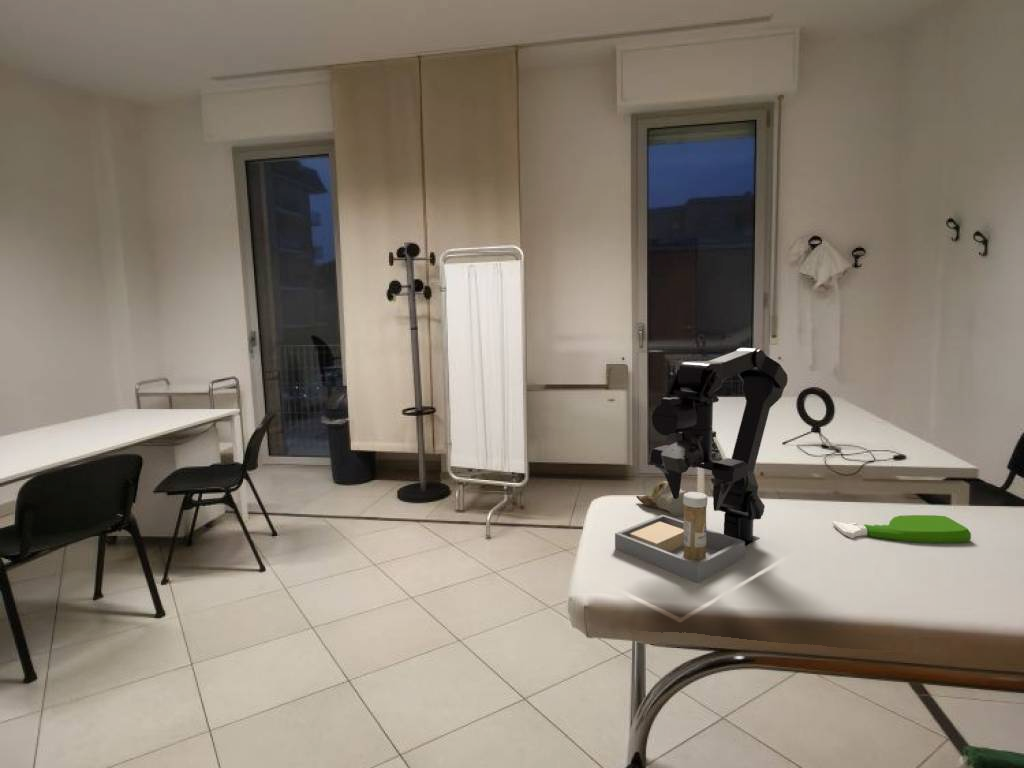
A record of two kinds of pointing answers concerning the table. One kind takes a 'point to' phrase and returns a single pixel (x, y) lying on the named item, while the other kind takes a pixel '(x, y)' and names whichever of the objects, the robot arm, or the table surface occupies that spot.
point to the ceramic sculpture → (664, 499)
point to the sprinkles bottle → (694, 526)
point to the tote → (718, 551)
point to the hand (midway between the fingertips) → (695, 504)
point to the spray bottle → (911, 529)
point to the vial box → (660, 536)
